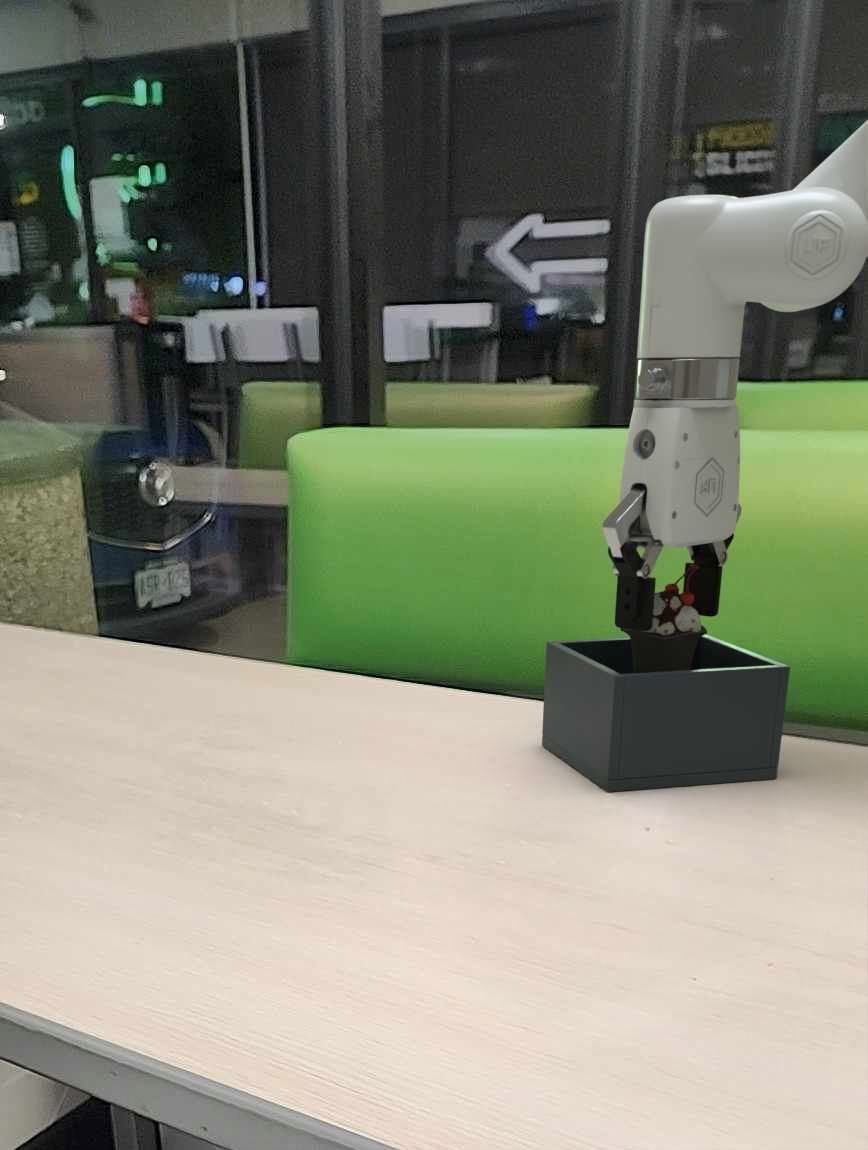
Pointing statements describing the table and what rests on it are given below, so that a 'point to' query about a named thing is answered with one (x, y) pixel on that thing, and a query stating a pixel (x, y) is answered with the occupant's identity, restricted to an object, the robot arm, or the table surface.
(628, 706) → the bin
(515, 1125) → the table surface
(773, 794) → the table surface
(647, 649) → the sundae
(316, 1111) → the table surface
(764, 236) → the robot arm
